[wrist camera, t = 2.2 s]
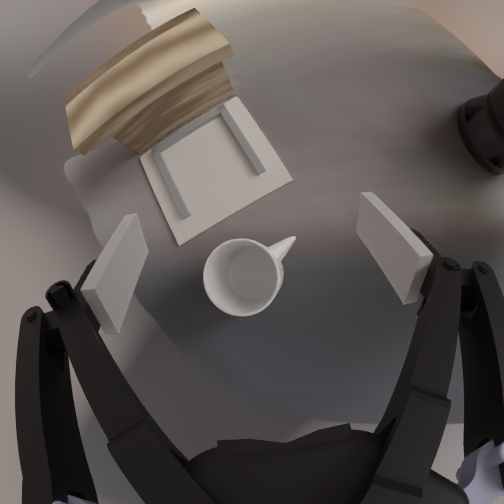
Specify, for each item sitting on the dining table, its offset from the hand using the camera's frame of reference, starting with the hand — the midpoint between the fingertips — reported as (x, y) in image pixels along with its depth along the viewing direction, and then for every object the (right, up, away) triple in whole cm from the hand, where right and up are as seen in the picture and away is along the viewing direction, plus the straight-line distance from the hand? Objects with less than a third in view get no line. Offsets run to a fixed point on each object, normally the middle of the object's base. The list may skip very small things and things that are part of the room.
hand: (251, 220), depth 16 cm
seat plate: (-7, +12, +27) cm, 30 cm away
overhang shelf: (-10, +18, +28) cm, 34 cm away
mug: (+2, -4, +25) cm, 26 cm away
